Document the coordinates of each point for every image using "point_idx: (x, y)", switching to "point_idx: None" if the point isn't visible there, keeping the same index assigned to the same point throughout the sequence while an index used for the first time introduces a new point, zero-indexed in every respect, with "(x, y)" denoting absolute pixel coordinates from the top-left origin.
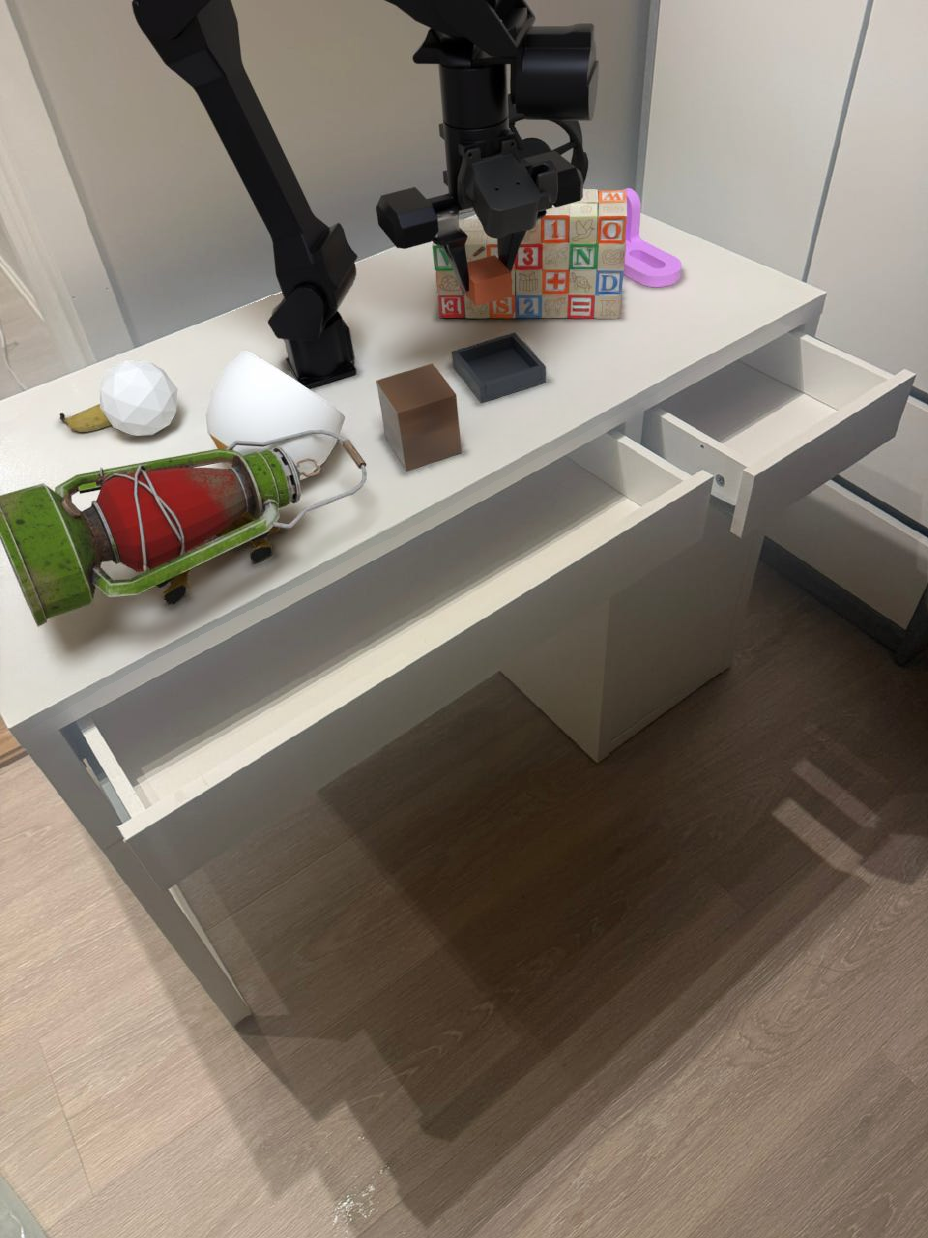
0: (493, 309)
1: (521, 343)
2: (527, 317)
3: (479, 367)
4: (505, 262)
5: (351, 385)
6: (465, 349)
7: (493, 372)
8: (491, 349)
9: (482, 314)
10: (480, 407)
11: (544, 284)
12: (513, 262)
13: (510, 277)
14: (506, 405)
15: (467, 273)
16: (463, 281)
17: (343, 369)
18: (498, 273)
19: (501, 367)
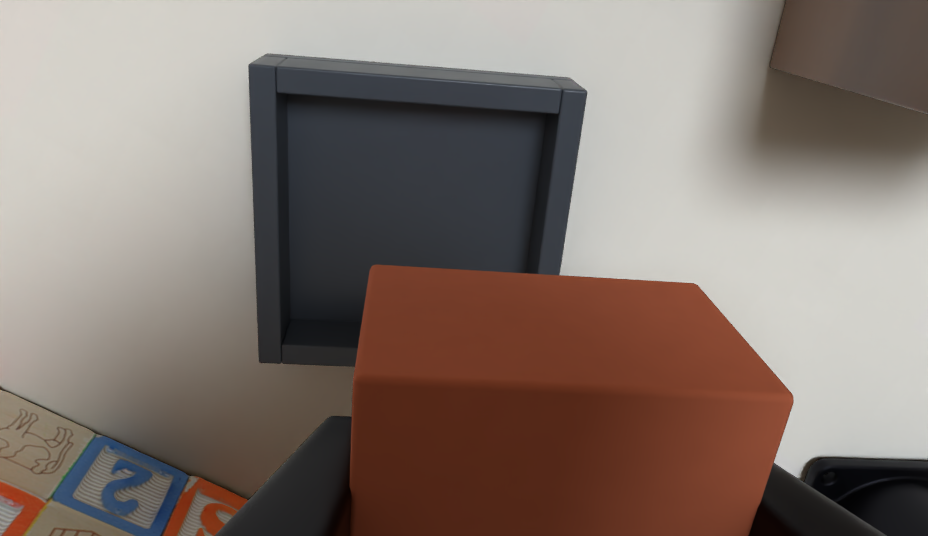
0: None
1: (271, 278)
2: (148, 456)
3: None
4: (345, 533)
5: (859, 416)
6: None
7: (436, 215)
8: None
9: None
10: (587, 54)
11: (13, 530)
12: (259, 502)
13: (375, 345)
14: (493, 3)
15: (811, 530)
16: (805, 486)
17: (846, 488)
18: (488, 423)
19: (392, 227)
